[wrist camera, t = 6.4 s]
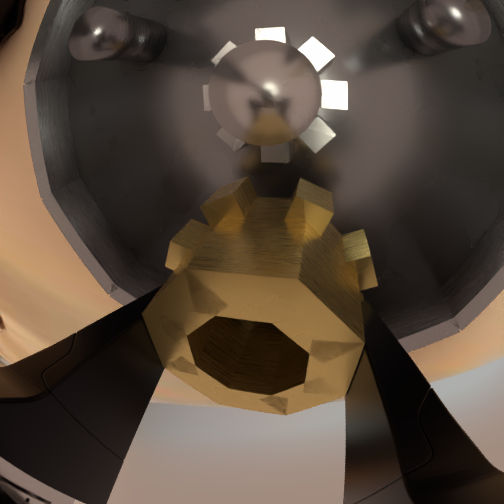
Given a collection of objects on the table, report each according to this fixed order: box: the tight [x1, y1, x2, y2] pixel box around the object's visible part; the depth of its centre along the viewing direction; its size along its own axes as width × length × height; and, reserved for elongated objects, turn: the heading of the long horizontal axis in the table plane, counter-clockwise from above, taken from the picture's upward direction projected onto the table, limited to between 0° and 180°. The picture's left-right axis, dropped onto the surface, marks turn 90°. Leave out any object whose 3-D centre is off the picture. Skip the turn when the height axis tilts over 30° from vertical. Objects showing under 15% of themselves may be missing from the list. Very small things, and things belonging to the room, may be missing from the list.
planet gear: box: [142, 176, 378, 415], centre depth 8 cm, size 6×6×4 cm
